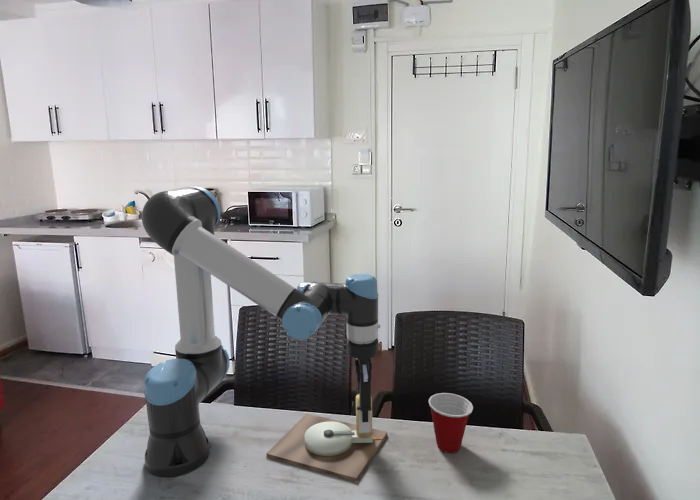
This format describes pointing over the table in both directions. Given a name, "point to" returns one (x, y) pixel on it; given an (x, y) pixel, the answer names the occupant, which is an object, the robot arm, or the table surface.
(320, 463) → the base plate
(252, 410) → the table surface
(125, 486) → the table surface
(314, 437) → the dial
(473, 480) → the table surface
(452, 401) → the plastic cup
